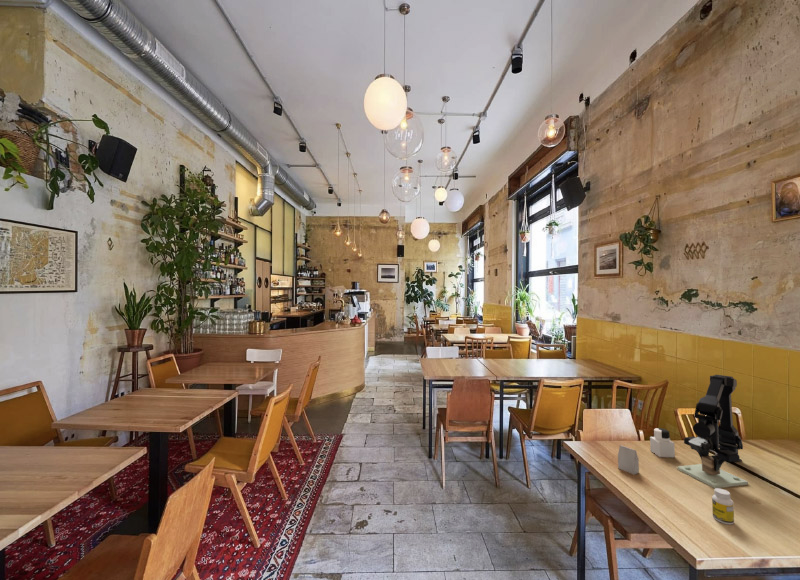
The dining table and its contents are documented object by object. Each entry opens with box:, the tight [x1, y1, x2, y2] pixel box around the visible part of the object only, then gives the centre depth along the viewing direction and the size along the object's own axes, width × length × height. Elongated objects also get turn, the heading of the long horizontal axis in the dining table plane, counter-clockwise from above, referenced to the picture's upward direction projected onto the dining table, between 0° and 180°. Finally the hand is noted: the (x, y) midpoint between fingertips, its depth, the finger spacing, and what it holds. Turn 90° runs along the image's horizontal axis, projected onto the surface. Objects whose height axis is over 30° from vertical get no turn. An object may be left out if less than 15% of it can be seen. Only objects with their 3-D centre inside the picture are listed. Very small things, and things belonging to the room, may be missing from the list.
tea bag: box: [617, 444, 640, 476], centre depth 154 cm, size 4×7×10 cm, turn 29°
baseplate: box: [676, 463, 749, 489], centre depth 148 cm, size 16×16×2 cm
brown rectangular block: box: [701, 455, 721, 475], centre depth 148 cm, size 4×4×6 cm
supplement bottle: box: [711, 488, 735, 525], centre depth 119 cm, size 5×5×10 cm
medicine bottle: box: [649, 427, 676, 458], centre depth 170 cm, size 7×7×12 cm
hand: (710, 468), depth 148 cm, fingers closed on brown rectangular block, 4 cm apart
